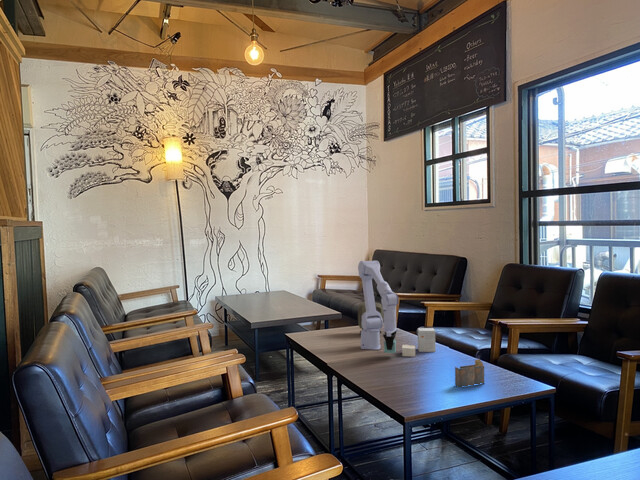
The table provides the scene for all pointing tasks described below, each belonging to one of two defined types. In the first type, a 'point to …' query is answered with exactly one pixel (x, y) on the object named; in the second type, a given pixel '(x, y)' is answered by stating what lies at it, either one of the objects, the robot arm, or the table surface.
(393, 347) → the teal cube
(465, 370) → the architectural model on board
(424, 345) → the small box
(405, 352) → the cream block
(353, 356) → the table surface
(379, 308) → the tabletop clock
